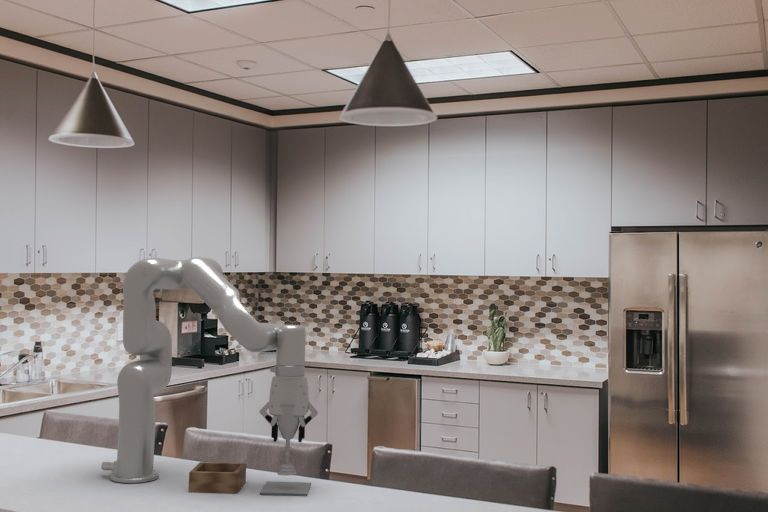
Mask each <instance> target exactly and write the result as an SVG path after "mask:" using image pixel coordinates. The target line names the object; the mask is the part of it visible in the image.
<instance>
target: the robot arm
mask: <svg viewBox="0 0 768 512" xmlns="http://www.w3.org/2000/svg"><path fill="white" fill-rule="evenodd" d="M223 271H224V270H223V268H222V266H221V264H220V263H219V262H218V261H216V260H215V259H212V258H209V257H208V258H207V257H201V256H193V257H191V258H189V259H167V258H160V257H147V258H144V259H141V260H138V261H137V262H135V263H134V264H133V265H131V266H130V268H129V269H128V270H127V272H126V273H125V275H124V279H123V283H122V296H123V298H122V299H123V301H122V302H123V311H122V312H123V313H122V344H123V348H124V350H125V351H126V352H127V353H128V354H130V355H132V356H139V360H135V361H134V360H133V361H131V362H129V363H127V364H126V365H124V366H123V367H122V368H121V369H120V371H119V373H118V375H117V382H116V384H117V392H118V405H119V407H118V431H117V432H118V435H117V452H116V453H117V456H116V460H114V461H113V462H110V461H103V462H101V465H100V466H101V470H103V471H111V472H112V473H110V474H109V475H110V476H109V479H110V480H111V481H113V482H116V483H121V484H122V483H123V484H136V483H137V484H140V483H147V482H152V481H155V480H158V478H159V476H160V472H159V471H157V470H154V463H155V462H154V460H155V443H156V442H155V441H156V440H155V439H156V438H155V437H156V436H155V435H156V413H157V411H156V409H157V408H156V403H155V402H156V401H155V396H154V393H159V392H161V391H163V390H164V389H166V388H167V387H168V386H169V384H170V382H171V379H172V372H173V371H172V368H173V367H172V366H173V365H172V364H173V363H172V362H173V357H172V356H173V354H172V353H173V347H172V346H173V343H172V341H173V340H172V334H171V331H170V329H169V327H168V326H167V325H166V323H163V322H162V321H159V320H157V319H156V316H157V315H156V311H157V309H156V308H157V307H156V305H157V304H156V300H155V297H154V296H155V295H154V291H155V290H171V291H173V290H191V291H192V292H193V293H194V294H195V295H196V296H198V297H199V298H200V299H201V300H202V302H204V303H205V304H206V305H207V306H208V307H209V308H210V309H211V310H212V312H214V313H215V315H216V317H217V319H218V321H219V323H220V324H221V325H222V326H223V328H224V330H226V332H227V333H228V334H229V335H230V336H231V337H232V338H233V339H235V341H236V342H237V343H238V344H240V345H241V346H242V347H243V349H245V350H247V351H249V352H251V353H263V352H270V351H276V355H275V356H276V358H275V359H276V362H275V365H274V366H270V369H269V370H270V373H274V374H275V376H272V378H271V383H270V390H269V398H268V399H269V401H268V402H266V404H265V405H264V406H263V407H261V408H260V410H259V414H260V415H261V416H263V418H264V419H265V421H267V422H268V424H270V426H271V432H270V433H271V436H270V437H271V439H273V442H277V441H278V438H279V427H278V423H277V419H278V416H281V415H282V413H283V409H282V408H281V407H280V405H283V406H295V407H294V408H293V409H292V415H293V416H298V418H299V421H300V423H299V426H298V439H297V441H298V442H299V443H302V442H303V440H304V439H305V436H306V434H305V433H306V426H307V425H308V424H309V423H310V422H311V421H312V420H313V419H314V418H315V417H316V416H318V414H319V411H318V410H317V409H316V408H315V406H314V405H312V403H311V402H310V401H309V399H310V398H309V385H308V384H309V383H308V377H307V376H305V370H306V367H305V365H306V342H307V341H306V338H307V331H306V327H305V326H303V325H301V324H276V323H272V322H271V323H270V322H259V321H257V320H256V318H254V317H253V316H252V315H251V314H250V313H249V312H248V311H247V309H245V307H244V306H243V304H242V303H241V300H240V291H239V290H238V288H236V286H235V285H233V283H231V282H230V281H229V280H228V279H227V278H226V277H225V276H224V273H223ZM267 410H268V412H267ZM309 411H310V414H308V412H309ZM307 414H308V415H307ZM306 415H307V416H306ZM305 416H306V417H305Z"/></svg>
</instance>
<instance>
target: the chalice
mask: <svg viewBox="0 0 768 512" xmlns="http://www.w3.org/2000/svg"><path fill="white" fill-rule="evenodd" d="M280 407H281V408H282V409H283V413H282V415H281V416H278V419H277V424H278V431H279V432H280V435H281V437H282V439H283V440H285V446H284V449H285V453H284V457H285V461H283V462H284V463H282V464H281V465H280V466H279V469H278V471H277V473H276V474H277V475H278V476H285V477H286V476H289V477H290V476H295V475H297V472H296V469H295V466H294V464H293V463H291V462H290V456H291V455H292V454H291V453H290V450H291V444H290V443H291V440H292V439H294V437H295V435H296V433H297V431H298V430H299V426H300V421H299V418H298V416H293V415H292V409H293V408H294V407H295V406H283V405H280Z"/></svg>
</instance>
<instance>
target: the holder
mask: <svg viewBox="0 0 768 512" xmlns="http://www.w3.org/2000/svg"><path fill="white" fill-rule="evenodd" d="M246 476H247V463H246V462H219V461H218V462H217V461H216V462H213V461H211V462H210V461H208V462H207V461H200V462H199V463H198V464H196V466H195V467H193V468H192V469H191V470H190V471H189V472H188V493H202V494H203V493H204V494H208V493H209V494H235V495H236V494H238V493H239V492H240V491H241V489H242V488H243V487H244V485H245V484H246V481H247V479H246V478H247V477H246ZM244 483H245V484H244ZM241 487H242V488H241Z"/></svg>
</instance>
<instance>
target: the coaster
mask: <svg viewBox="0 0 768 512" xmlns="http://www.w3.org/2000/svg"><path fill="white" fill-rule="evenodd" d="M310 486H311V487H312V482H305V481H304V482H303V481H302V482H299V481H266V482H265V483H264V485H263V487H262V488H261V490H260V491H259V496H283V497H284V496H287V497H292V496H293V497H308V494H309V492H310V489H311V487H310Z"/></svg>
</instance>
